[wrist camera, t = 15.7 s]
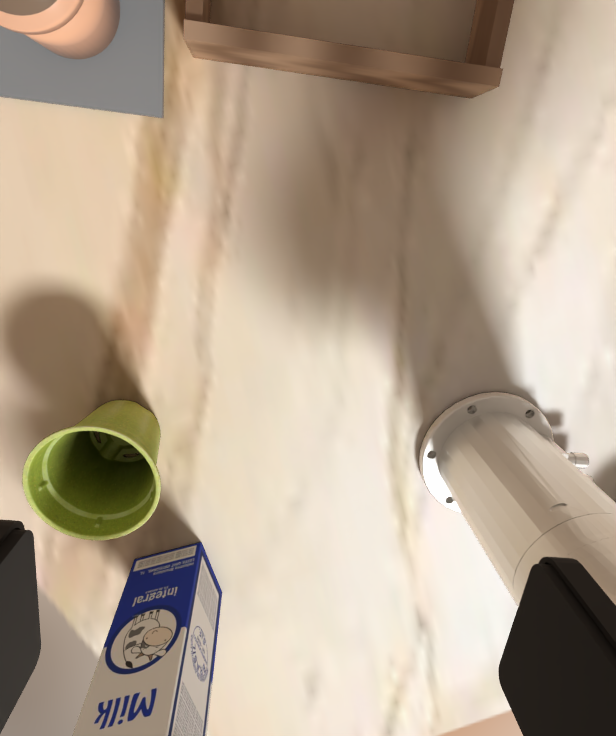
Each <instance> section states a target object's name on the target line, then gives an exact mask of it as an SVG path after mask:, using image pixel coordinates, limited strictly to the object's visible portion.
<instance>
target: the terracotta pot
mask: <svg viewBox="0 0 616 736" xmlns="http://www.w3.org/2000/svg"><path fill="white" fill-rule="evenodd" d="M119 20H120V1H119V0H0V26H2V27H4V28H6V29H8V30H11V31H14V32H17V33H21V34H24V35H26V36H28V37H29V38H31V39H32V40H34V41H35V42H37V43H39V44H40V45H42V46H43V47H45V48H47V49H48V50H50V51H51V52H53V53H55V54H57V55H59V56H62V57H65V58H69V59H86V58H91V57H93V56H95V55H97V54H99V53H101V52H102V51H103V50H104V49H106V48H107V47H108V45H109V44H110V43H111V41H112V40H113V38H114V36H115V34H116V32H117V29H118V25H119Z"/></svg>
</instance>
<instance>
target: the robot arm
mask: <svg viewBox="0 0 616 736" xmlns="http://www.w3.org/2000/svg"><path fill="white" fill-rule="evenodd" d="M469 406H470V407H469ZM468 407H469V408H468ZM419 465H420V471H421V475H422V478H423V480H424V483H425V485H426V486H427V488H428V490H429V491H430V493H431V494H432V495H433V496H434V498H435V499H436V500H437V501H438V502H440V503H441V504H442V505H444V506H445V507H448V508H450V509H452V510H455V511H458V512H461V513H462V515H463V516H464V518H465V520H466V521H467V523H468V525H469V526H470V528H471V530H472V531H473V533H474V535H475V536H476V538H477V540H478V541H479V543H480V545H481V546H482V548H483V550H484V551H485V553H486V555H487V556H488V558H489V560H490V561H491V563H492V565H493V566H494V568H495V570H496V571H497V573H498V575H499V576H500V578H501V580H502V581H503V583H504V585H505V586H506V588H507V590H508V591H509V593H510V595H511V596H512V598H513V600H514V601H515V603H516V605H517V606H518V610H517V613H516V616H515V619H514V622H513V625H512V628H511V631H510V634H509V637H508V640H507V643H506V646H505V649H504V652H503V655H502V658H501V661H500V665H499V680H500V684H501V687H502V690H503V692H504V694H505V696H506V698H507V701H508V703H509V705H510V707H511V709H512V712H513V714H514V716H515V718H516V721H517V723H518V725H519V727H520V729H521V732H522V734H523V736H616V502H615V501H614V500H612V499H611V498H610V497H609V496H608V495H607V494H606V493H605V492H604V491H602V490H601V489H600V488H599V487H598V486H597V485H596V484H595V483H594V480H593V478H592V477H591V476H589V475H586V474H584V473H582V472H581V471H580V470H579V469H578V468H583V469H585V468H587V467H588V465H589V458H588V456H587V455H586V454H584V453H572V452H571V453H566V452H565V451H564V450H563V449H561V448H560V447H559V446H558V445H557V444H556V443H555V442H554V437H553V433H552V429H551V426H550V424H549V422H548V421H547V419H546V417H545V416H544V415H543V414H542V413H541V411H540V410H539V409H538V408H536V407H535V406H534V405H533V404H531V403H530V402H529V401H527V400H525V399H523V398H521V397H519V396H516V395H513V394H509V393H501V392H490V393H481V394H478V395H474V396H471V397H468V398H466V399H463V400H461V401H459V402H457V403H455V404H454V405H453V406H451V407H450V408H448V409H447V410H445V411H444V412H443V413H442V414H441V415H440V416H439V417H438V418H437V419H436V420H435V421H434V423H433V424H432V426H431V427H430V428H429V430H428V431H427V434H426V436H425V438H424V440H423V442H422V446H421V450H420V458H419ZM40 649H41V638H40V623H39V609H38V595H37V580H36V565H35V550H34V537H33V533H32V531H30V530H25V529H24V525H23V523H22V522H20V521H12V520H0V733H1V731H2V729H3V728H4V726H5V724H6V722H7V719H8V718H9V716H10V714H11V712H12V710H13V709H14V707H15V705H16V703H17V701H18V699H19V697H20V695H21V693H22V691H23V689H24V688H25V686H26V684H27V682H28V680H29V678H30V676H31V674H32V672H33V670H34V669H35V666H36V664H37V661H38V658H39V654H40Z"/></svg>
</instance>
